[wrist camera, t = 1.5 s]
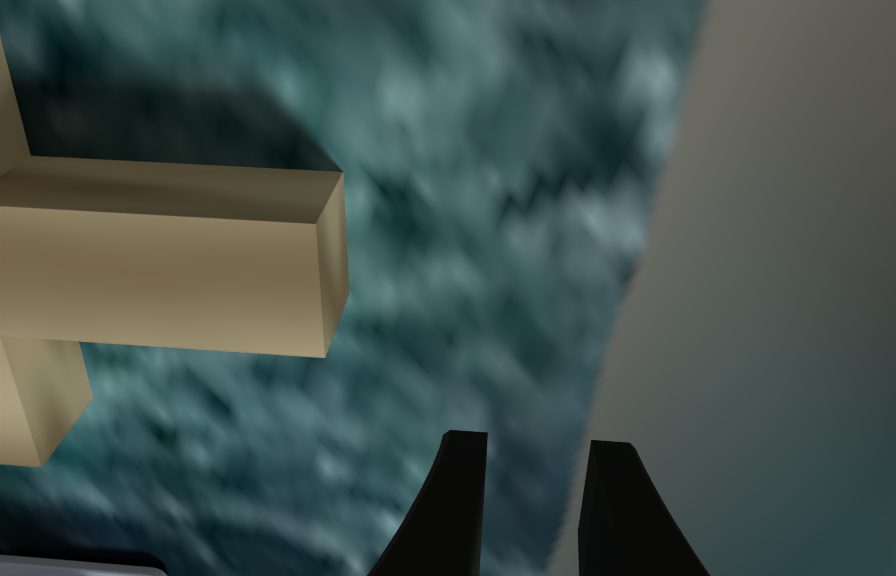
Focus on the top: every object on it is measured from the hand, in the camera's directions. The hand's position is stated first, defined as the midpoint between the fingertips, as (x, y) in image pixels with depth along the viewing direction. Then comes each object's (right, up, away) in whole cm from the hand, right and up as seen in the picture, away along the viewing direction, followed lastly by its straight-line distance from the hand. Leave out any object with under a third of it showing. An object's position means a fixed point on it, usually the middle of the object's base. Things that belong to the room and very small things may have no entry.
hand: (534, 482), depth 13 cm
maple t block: (-10, +5, +8) cm, 14 cm away
